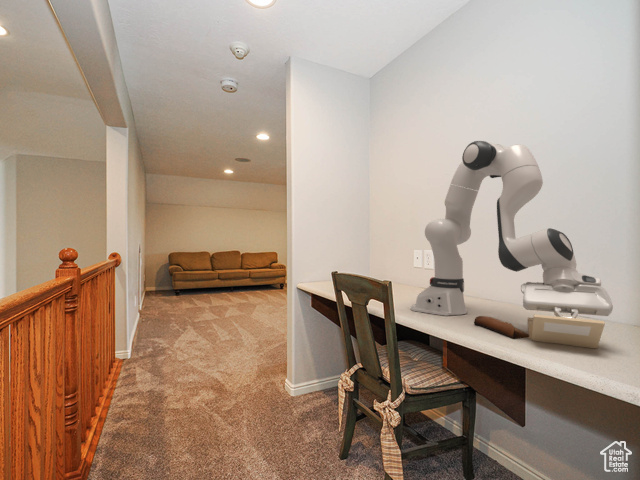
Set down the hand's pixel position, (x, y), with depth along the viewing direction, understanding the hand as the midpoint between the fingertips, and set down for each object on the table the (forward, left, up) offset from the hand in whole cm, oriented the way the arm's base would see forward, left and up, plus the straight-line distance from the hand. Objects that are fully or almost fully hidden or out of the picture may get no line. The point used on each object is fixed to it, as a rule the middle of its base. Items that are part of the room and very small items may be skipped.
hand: (567, 324), depth 87 cm
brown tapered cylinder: (-16, +13, -8) cm, 22 cm away
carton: (0, +11, -7) cm, 13 cm away
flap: (0, +6, -7) cm, 9 cm away
